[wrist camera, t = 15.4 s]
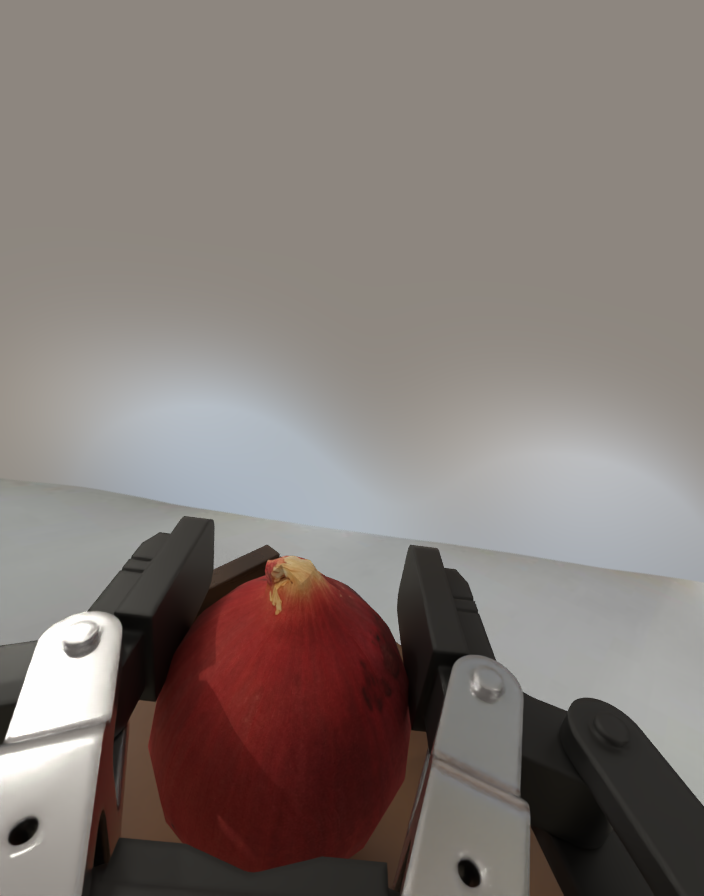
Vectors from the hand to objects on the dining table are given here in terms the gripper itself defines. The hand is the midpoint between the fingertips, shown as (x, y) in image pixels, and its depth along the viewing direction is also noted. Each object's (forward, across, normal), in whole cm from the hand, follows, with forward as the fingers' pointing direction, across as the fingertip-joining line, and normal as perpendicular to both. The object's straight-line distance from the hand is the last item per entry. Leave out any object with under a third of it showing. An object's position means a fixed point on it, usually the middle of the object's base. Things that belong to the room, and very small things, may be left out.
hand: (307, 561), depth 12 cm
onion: (-3, 0, +6) cm, 7 cm away
